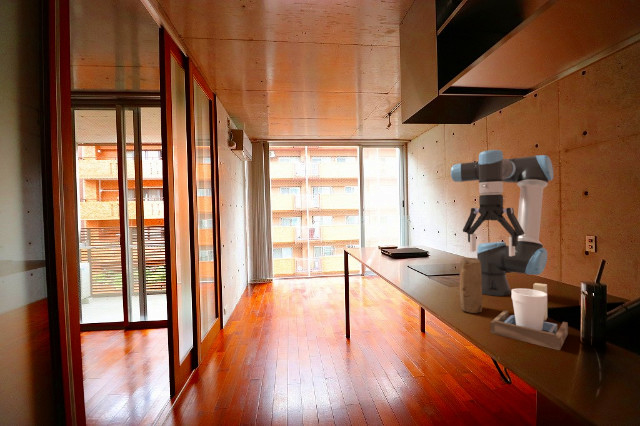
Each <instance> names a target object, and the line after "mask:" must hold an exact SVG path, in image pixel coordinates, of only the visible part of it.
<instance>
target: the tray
mask: <svg viewBox="0 0 640 426" xmlns="http://www.w3.org/2000/svg"><path fill="white" fill-rule="evenodd" d="M532 285H533V286H532V290H538V291H542V292H544V293H546V294H547V295H548V284H546V283H538V282H535V283H533V284H532ZM547 319H548V302H547V303H546V309H545V315H544V321H543V328H542V331H545V332H550V333H554V334H555V335H556V333H557V331H558V324H557V323H553V322H548V321H547ZM505 323H509V324H514V325H516V320H515V314H511V315H509V316H508V319H507V320H506V321H505Z"/></svg>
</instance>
